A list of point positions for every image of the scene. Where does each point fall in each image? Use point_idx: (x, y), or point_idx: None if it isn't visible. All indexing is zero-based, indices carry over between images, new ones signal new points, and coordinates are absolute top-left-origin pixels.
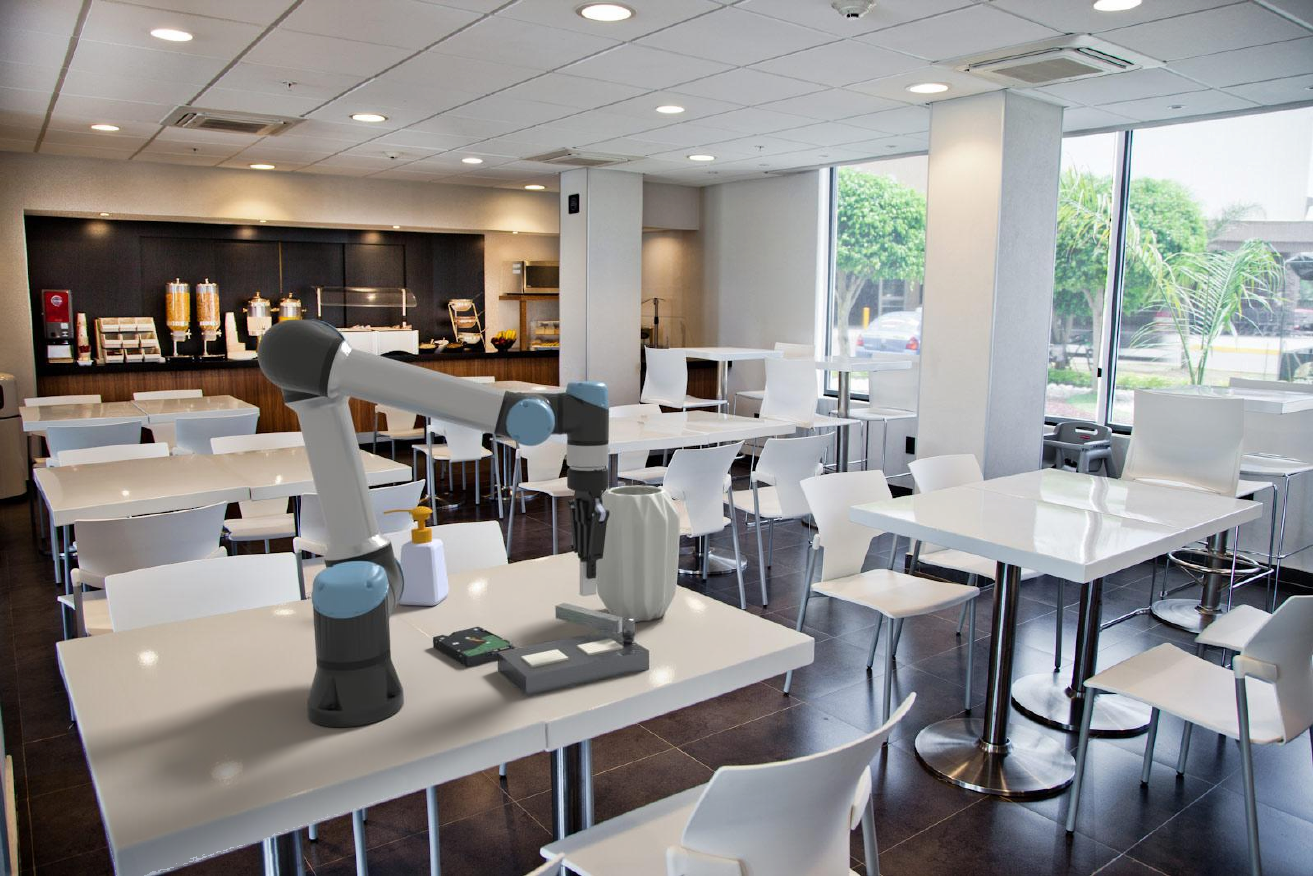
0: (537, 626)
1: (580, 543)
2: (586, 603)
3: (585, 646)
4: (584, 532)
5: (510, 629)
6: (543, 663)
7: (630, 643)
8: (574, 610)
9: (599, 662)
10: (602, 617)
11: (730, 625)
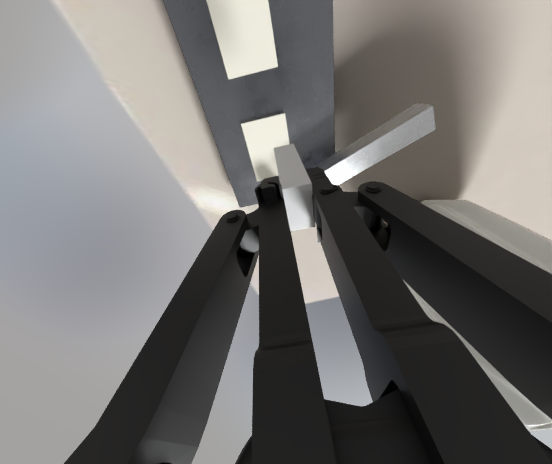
0: (484, 82)
1: (327, 224)
2: (499, 183)
3: (274, 126)
4: (287, 287)
5: (519, 15)
6: (209, 9)
7: None
8: (380, 138)
9: (213, 133)
10: None
11: (327, 282)
